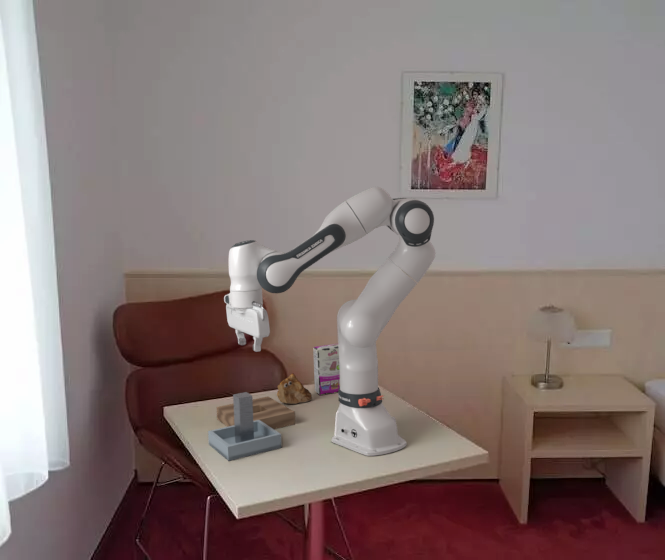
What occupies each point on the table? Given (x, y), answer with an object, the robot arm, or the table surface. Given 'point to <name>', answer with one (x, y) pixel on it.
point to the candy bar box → (326, 369)
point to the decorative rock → (293, 391)
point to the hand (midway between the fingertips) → (249, 347)
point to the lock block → (261, 413)
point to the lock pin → (243, 417)
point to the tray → (231, 450)
